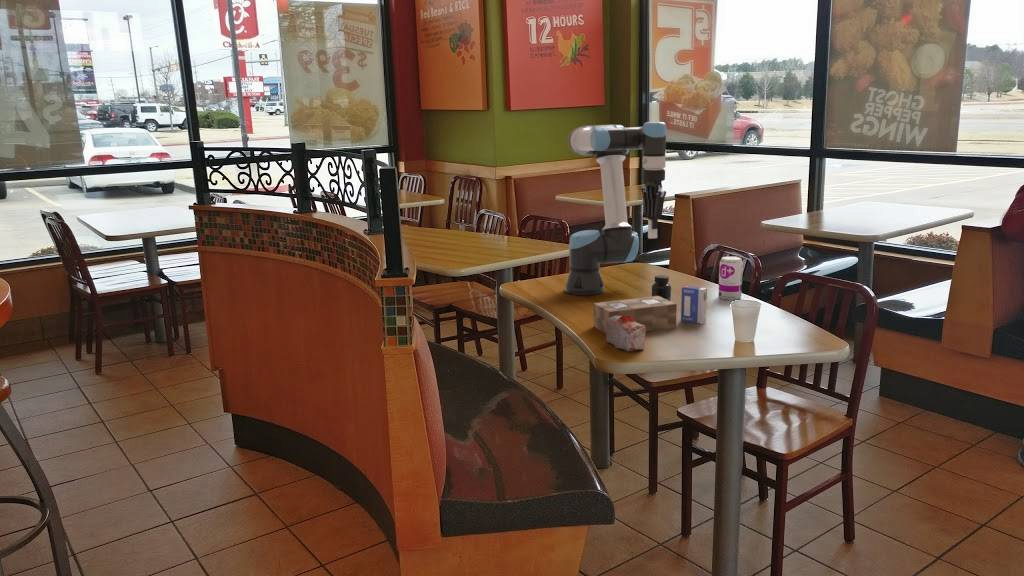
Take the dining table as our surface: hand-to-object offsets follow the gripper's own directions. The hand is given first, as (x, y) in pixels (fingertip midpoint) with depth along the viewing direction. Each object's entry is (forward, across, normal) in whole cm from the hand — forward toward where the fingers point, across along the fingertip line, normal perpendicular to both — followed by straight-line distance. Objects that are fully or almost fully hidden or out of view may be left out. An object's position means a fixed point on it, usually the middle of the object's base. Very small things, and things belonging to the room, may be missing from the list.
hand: (652, 237), depth 281 cm
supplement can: (+27, -6, +37) cm, 46 cm away
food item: (+27, +32, -27) cm, 49 cm away
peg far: (+26, +14, -8) cm, 31 cm away
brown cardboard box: (+26, +14, -14) cm, 33 cm away
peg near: (+26, +14, -20) cm, 36 cm away
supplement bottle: (+27, -2, +5) cm, 27 cm away
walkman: (+27, +16, +7) cm, 32 cm away
